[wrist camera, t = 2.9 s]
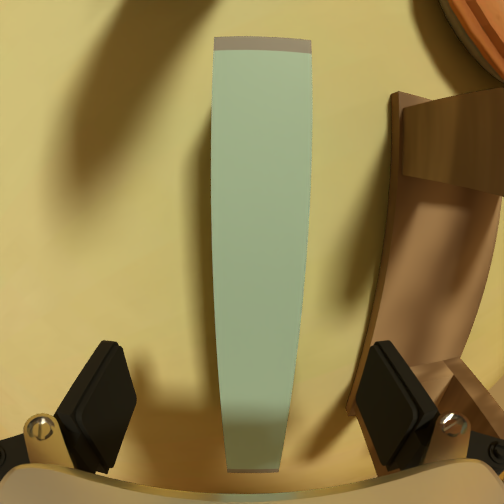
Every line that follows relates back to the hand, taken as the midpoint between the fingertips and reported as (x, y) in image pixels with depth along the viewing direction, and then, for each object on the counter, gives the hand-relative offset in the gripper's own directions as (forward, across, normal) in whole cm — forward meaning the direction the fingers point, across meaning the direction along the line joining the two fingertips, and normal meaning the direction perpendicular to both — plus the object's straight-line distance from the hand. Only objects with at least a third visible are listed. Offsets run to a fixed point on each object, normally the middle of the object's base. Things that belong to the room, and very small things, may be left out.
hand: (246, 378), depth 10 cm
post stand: (+8, -14, 0) cm, 16 cm away
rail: (+8, -1, 0) cm, 8 cm away
